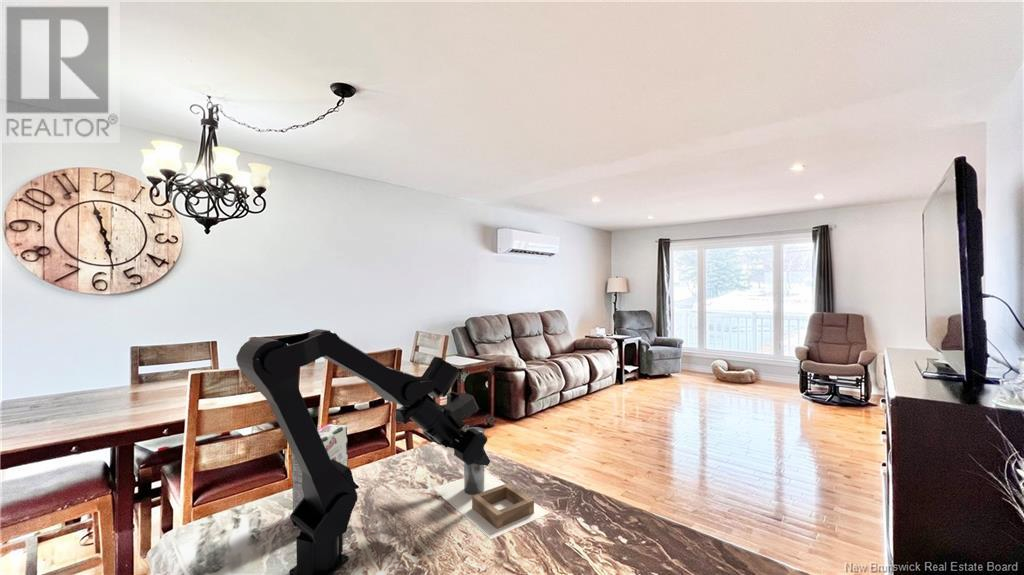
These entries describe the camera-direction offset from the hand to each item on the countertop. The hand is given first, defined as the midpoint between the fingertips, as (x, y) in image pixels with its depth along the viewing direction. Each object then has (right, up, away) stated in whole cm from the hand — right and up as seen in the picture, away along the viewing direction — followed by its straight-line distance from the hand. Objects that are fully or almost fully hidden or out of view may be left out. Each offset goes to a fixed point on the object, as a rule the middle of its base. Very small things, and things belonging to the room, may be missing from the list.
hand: (477, 456), depth 91 cm
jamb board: (+3, -8, -5) cm, 10 cm away
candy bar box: (-30, -9, -8) cm, 33 cm away
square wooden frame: (+6, -7, -9) cm, 13 cm away
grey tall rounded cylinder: (-1, -7, 0) cm, 7 cm away
